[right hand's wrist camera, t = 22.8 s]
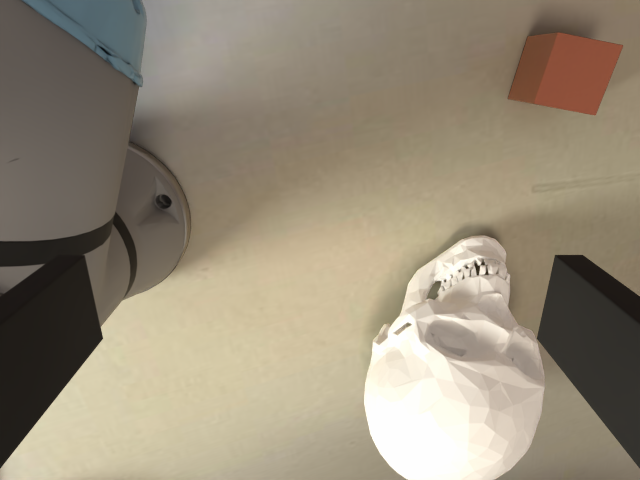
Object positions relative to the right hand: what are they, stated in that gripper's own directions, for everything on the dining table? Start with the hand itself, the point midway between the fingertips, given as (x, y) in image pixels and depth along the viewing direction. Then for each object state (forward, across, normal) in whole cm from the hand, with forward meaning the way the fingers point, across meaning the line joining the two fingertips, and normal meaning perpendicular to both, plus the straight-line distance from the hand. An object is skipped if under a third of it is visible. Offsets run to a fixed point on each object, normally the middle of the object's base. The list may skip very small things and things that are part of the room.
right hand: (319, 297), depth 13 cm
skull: (+29, -12, +19) cm, 36 cm away
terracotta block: (+29, -19, -5) cm, 35 cm away
